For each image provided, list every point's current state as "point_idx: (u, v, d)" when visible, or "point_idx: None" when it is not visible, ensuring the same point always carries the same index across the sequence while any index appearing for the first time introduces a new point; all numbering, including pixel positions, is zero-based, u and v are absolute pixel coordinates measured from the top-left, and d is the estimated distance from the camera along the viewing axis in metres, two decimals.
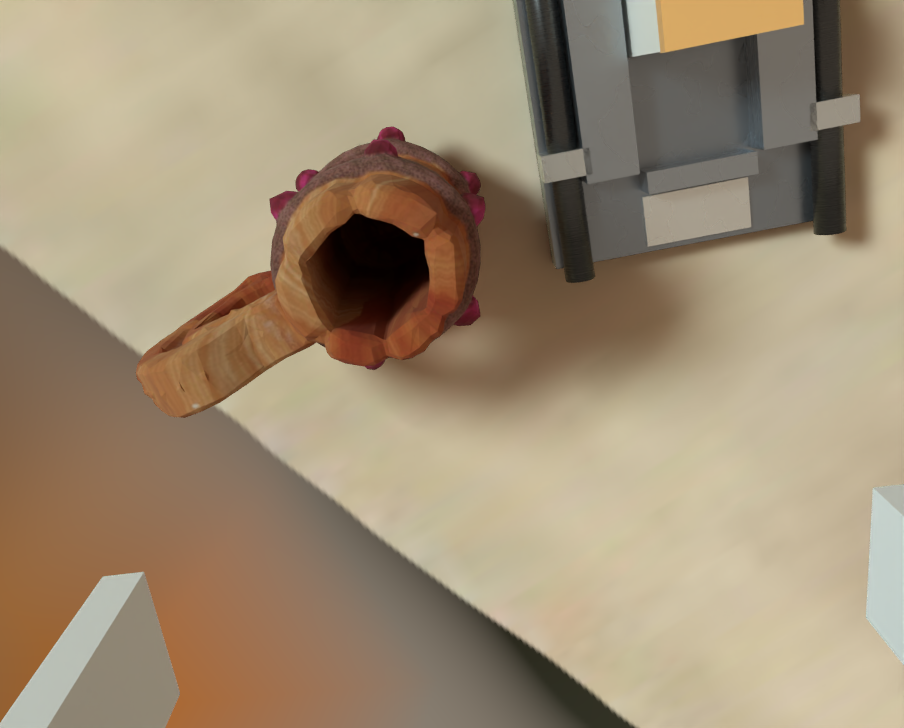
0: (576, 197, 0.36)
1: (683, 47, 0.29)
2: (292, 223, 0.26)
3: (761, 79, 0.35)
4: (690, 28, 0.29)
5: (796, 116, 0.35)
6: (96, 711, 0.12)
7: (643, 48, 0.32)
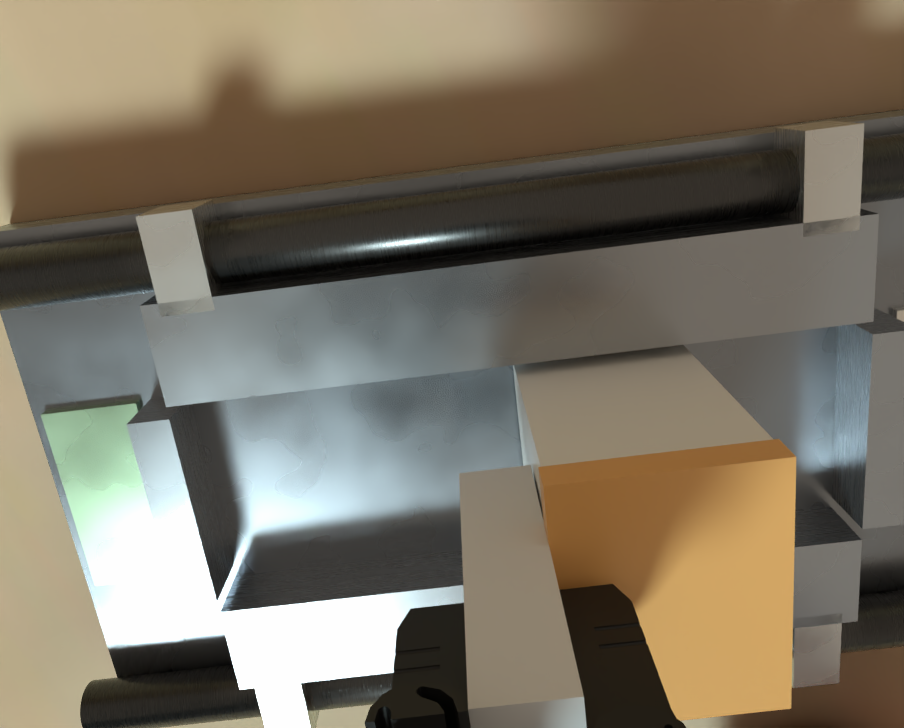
0: (873, 629, 0.21)
1: (789, 678, 0.14)
2: None
3: (736, 332, 0.18)
4: (755, 668, 0.14)
5: (822, 262, 0.17)
6: None
7: None
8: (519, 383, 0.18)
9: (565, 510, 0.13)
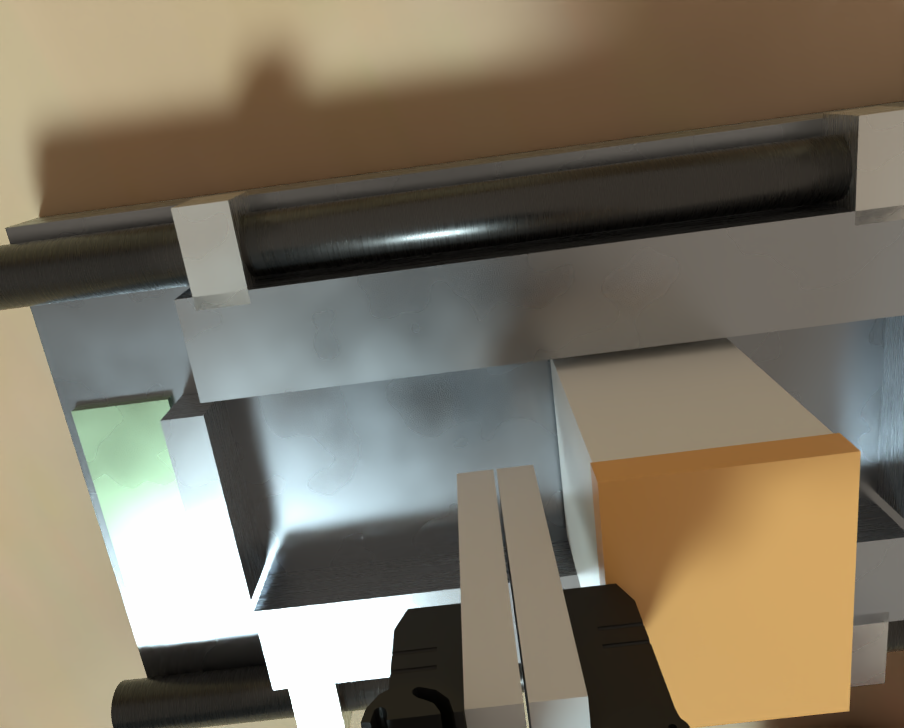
0: None
1: (848, 680, 0.14)
2: None
3: (784, 324, 0.17)
4: (812, 669, 0.14)
5: (874, 251, 0.17)
6: None
7: None
8: (560, 377, 0.17)
9: (620, 507, 0.13)
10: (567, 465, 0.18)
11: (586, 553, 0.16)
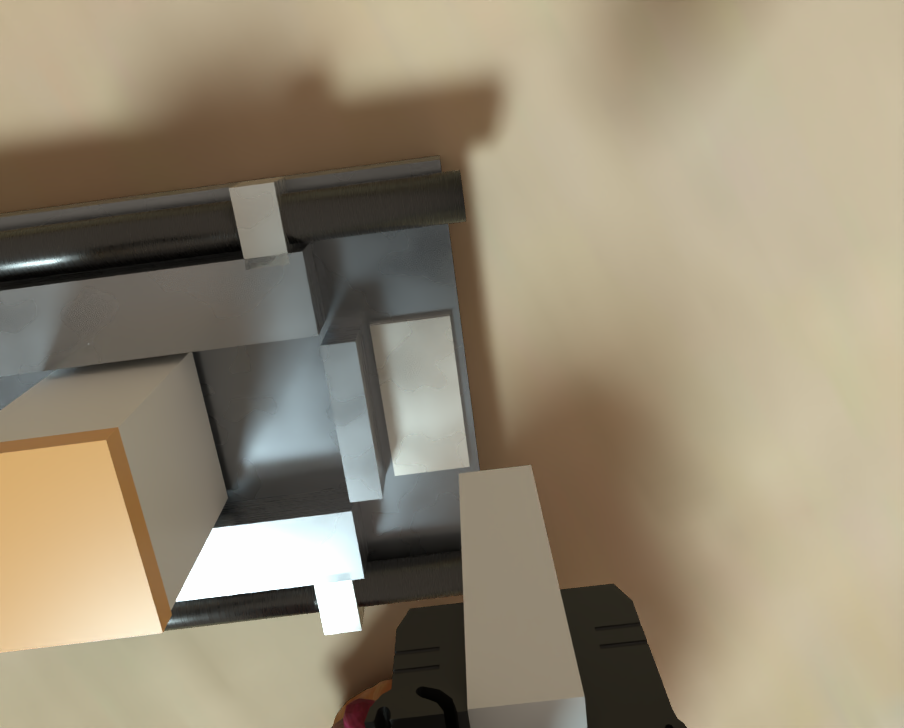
0: (384, 586, 0.25)
1: (154, 609, 0.19)
2: None
3: (212, 345, 0.22)
4: (125, 601, 0.19)
5: (266, 289, 0.22)
6: None
7: None
8: (33, 386, 0.22)
9: None
10: None
11: None
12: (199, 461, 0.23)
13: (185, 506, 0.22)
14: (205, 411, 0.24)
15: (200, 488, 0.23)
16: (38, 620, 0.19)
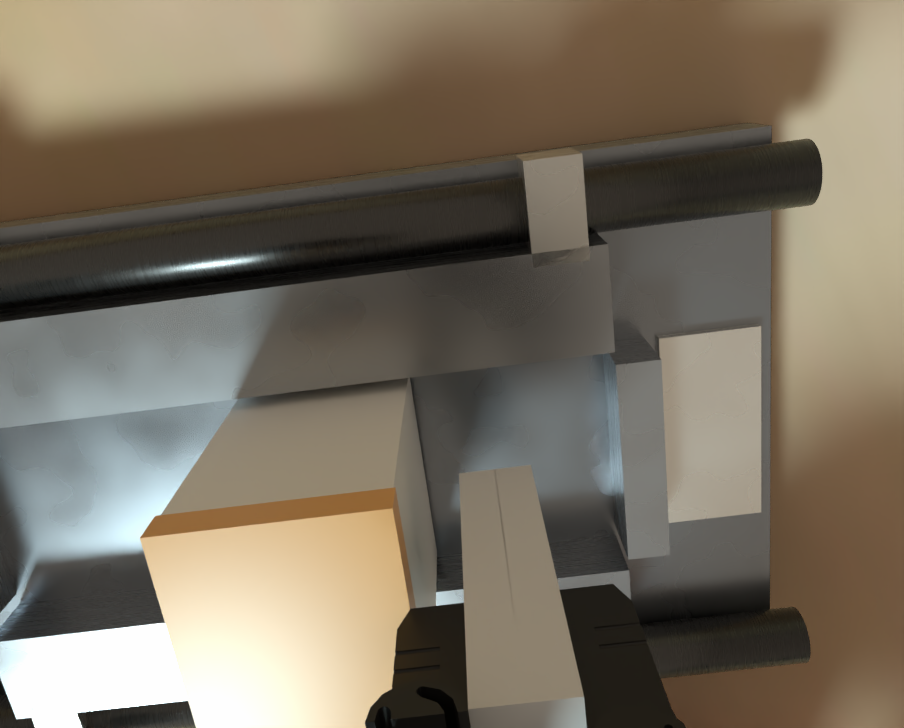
0: (654, 659, 0.20)
1: None
2: None
3: (477, 363, 0.17)
4: None
5: (555, 293, 0.17)
6: None
7: None
8: (225, 419, 0.17)
9: (167, 562, 0.13)
10: None
11: None
12: (424, 512, 0.18)
13: (425, 575, 0.17)
14: (420, 447, 0.19)
15: (427, 547, 0.18)
16: None
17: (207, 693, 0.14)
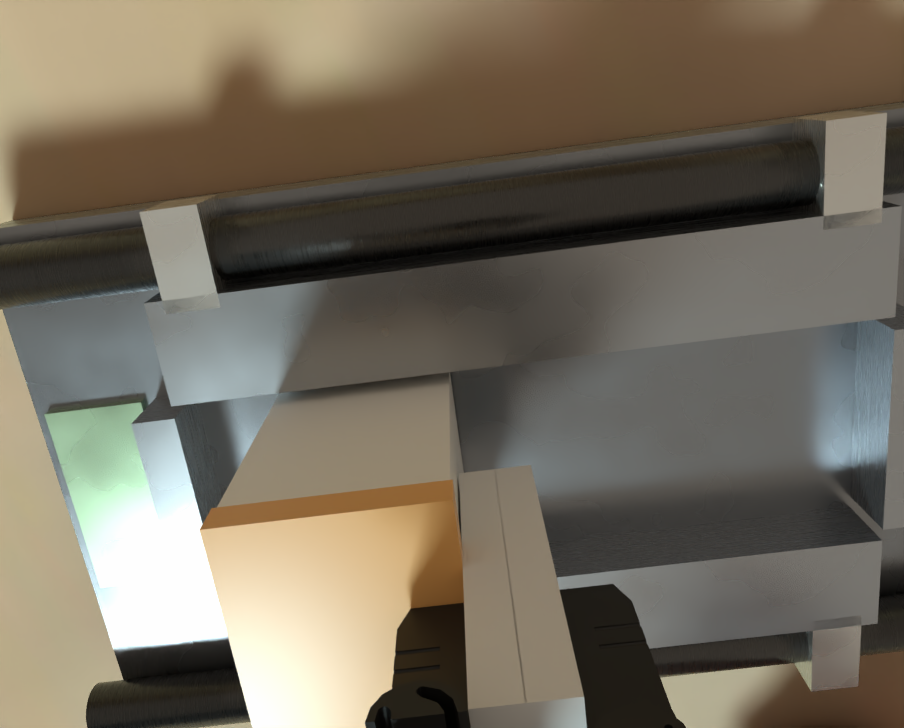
0: (893, 632, 0.20)
1: None
2: None
3: (753, 329, 0.17)
4: None
5: (842, 256, 0.17)
6: None
7: None
8: (269, 413, 0.17)
9: (226, 553, 0.13)
10: None
11: None
12: None
13: None
14: (459, 441, 0.19)
15: None
16: None
17: (262, 685, 0.14)
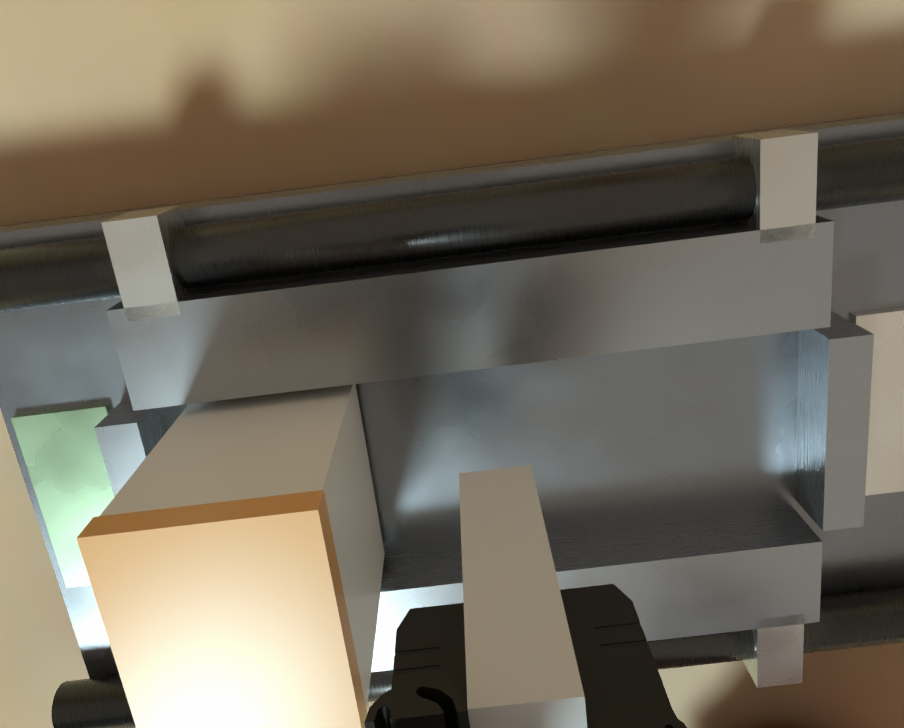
0: (834, 630, 0.21)
1: (357, 720, 0.15)
2: None
3: (695, 337, 0.18)
4: (322, 710, 0.15)
5: (778, 268, 0.17)
6: None
7: None
8: (173, 424, 0.18)
9: (103, 560, 0.13)
10: None
11: None
12: (367, 514, 0.19)
13: (364, 575, 0.17)
14: (366, 451, 0.20)
15: (370, 548, 0.19)
16: None
17: (144, 687, 0.14)
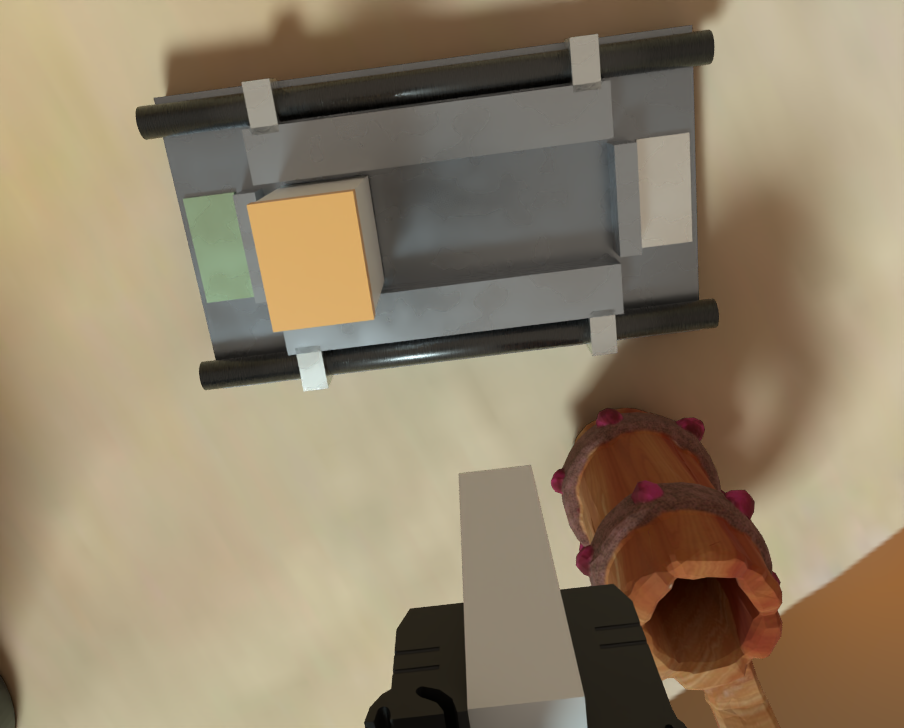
0: (634, 321, 0.38)
1: (370, 303, 0.31)
2: None
3: (544, 144, 0.35)
4: (354, 297, 0.31)
5: (584, 106, 0.34)
6: None
7: None
8: (274, 190, 0.35)
9: (257, 216, 0.30)
10: None
11: None
12: (375, 244, 0.36)
13: (373, 263, 0.34)
14: None
15: (376, 260, 0.35)
16: (301, 310, 0.31)
17: (272, 284, 0.31)
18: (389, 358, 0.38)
